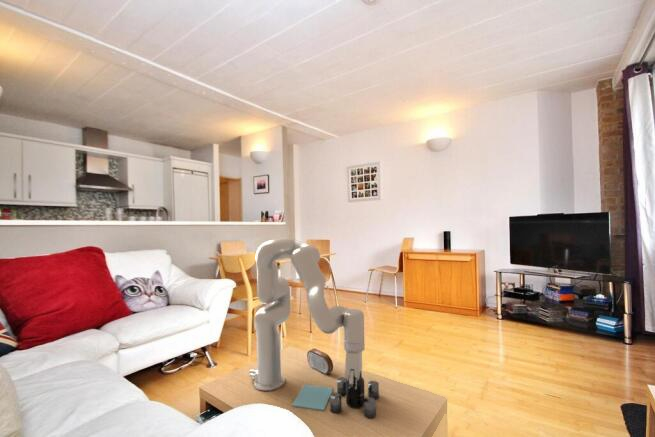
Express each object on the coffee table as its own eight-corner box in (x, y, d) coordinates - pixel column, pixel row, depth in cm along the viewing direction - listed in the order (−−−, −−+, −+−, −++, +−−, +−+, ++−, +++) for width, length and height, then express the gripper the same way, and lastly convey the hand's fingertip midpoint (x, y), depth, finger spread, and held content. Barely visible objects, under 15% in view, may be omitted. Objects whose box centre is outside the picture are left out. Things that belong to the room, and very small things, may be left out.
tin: (333, 375, 132) (333, 355, 132) (328, 377, 130) (328, 358, 130) (311, 363, 143) (310, 345, 143) (306, 366, 141) (305, 347, 141)
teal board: (291, 406, 111) (291, 405, 111) (304, 385, 124) (304, 384, 124) (323, 411, 107) (323, 409, 107) (333, 389, 121) (333, 388, 121)
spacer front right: (363, 418, 103) (363, 403, 103) (365, 410, 107) (364, 396, 107) (375, 419, 102) (375, 404, 102) (376, 412, 106) (376, 397, 106)
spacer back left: (336, 395, 117) (335, 382, 117) (338, 389, 121) (338, 376, 121) (346, 396, 116) (346, 383, 116) (348, 390, 120) (348, 378, 120)
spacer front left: (329, 412, 106) (328, 398, 106) (331, 406, 110) (331, 392, 110) (340, 414, 105) (340, 400, 105) (342, 407, 109) (342, 393, 109)
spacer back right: (367, 399, 114) (367, 385, 114) (368, 393, 118) (368, 380, 118) (378, 400, 113) (378, 387, 113) (379, 394, 117) (379, 381, 117)
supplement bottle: (364, 410, 108) (363, 375, 108) (344, 408, 109) (344, 374, 109) (365, 398, 114) (364, 366, 114) (347, 396, 116) (346, 365, 116)
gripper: (348, 334, 121) (349, 379, 121) (339, 353, 104) (340, 406, 104) (367, 336, 119) (368, 382, 119) (360, 355, 102) (362, 409, 102)
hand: (355, 392), depth 112 cm, fingers closed on supplement bottle, 6 cm apart
